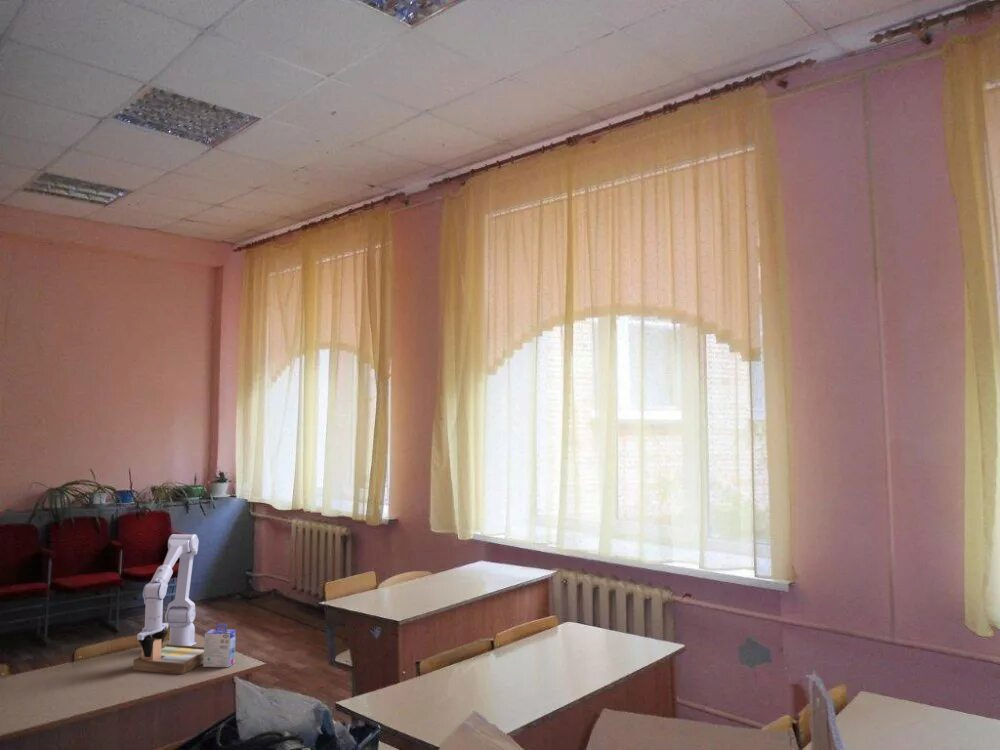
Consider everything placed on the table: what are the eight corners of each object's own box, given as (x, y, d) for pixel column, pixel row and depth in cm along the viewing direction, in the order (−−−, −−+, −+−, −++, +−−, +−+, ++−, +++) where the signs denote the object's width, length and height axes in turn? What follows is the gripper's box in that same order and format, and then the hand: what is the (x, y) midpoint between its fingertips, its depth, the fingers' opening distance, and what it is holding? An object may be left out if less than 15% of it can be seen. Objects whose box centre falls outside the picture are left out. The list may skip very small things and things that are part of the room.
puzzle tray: (165, 653, 268) (165, 644, 269) (212, 657, 265) (213, 647, 265) (133, 669, 251) (133, 659, 251) (183, 674, 247) (183, 664, 247)
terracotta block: (149, 657, 257) (150, 638, 258) (161, 658, 256) (161, 638, 257) (141, 662, 253) (141, 642, 253) (152, 662, 252) (153, 642, 252)
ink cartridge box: (235, 662, 259) (237, 622, 260) (229, 667, 254) (230, 627, 255) (209, 661, 260) (210, 622, 261) (202, 667, 254) (204, 626, 255)
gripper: (157, 610, 263) (155, 647, 262) (130, 621, 249) (128, 660, 248) (173, 611, 262) (172, 648, 261) (148, 622, 248) (146, 661, 247)
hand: (152, 654), depth 255 cm, fingers closed on terracotta block, 4 cm apart
